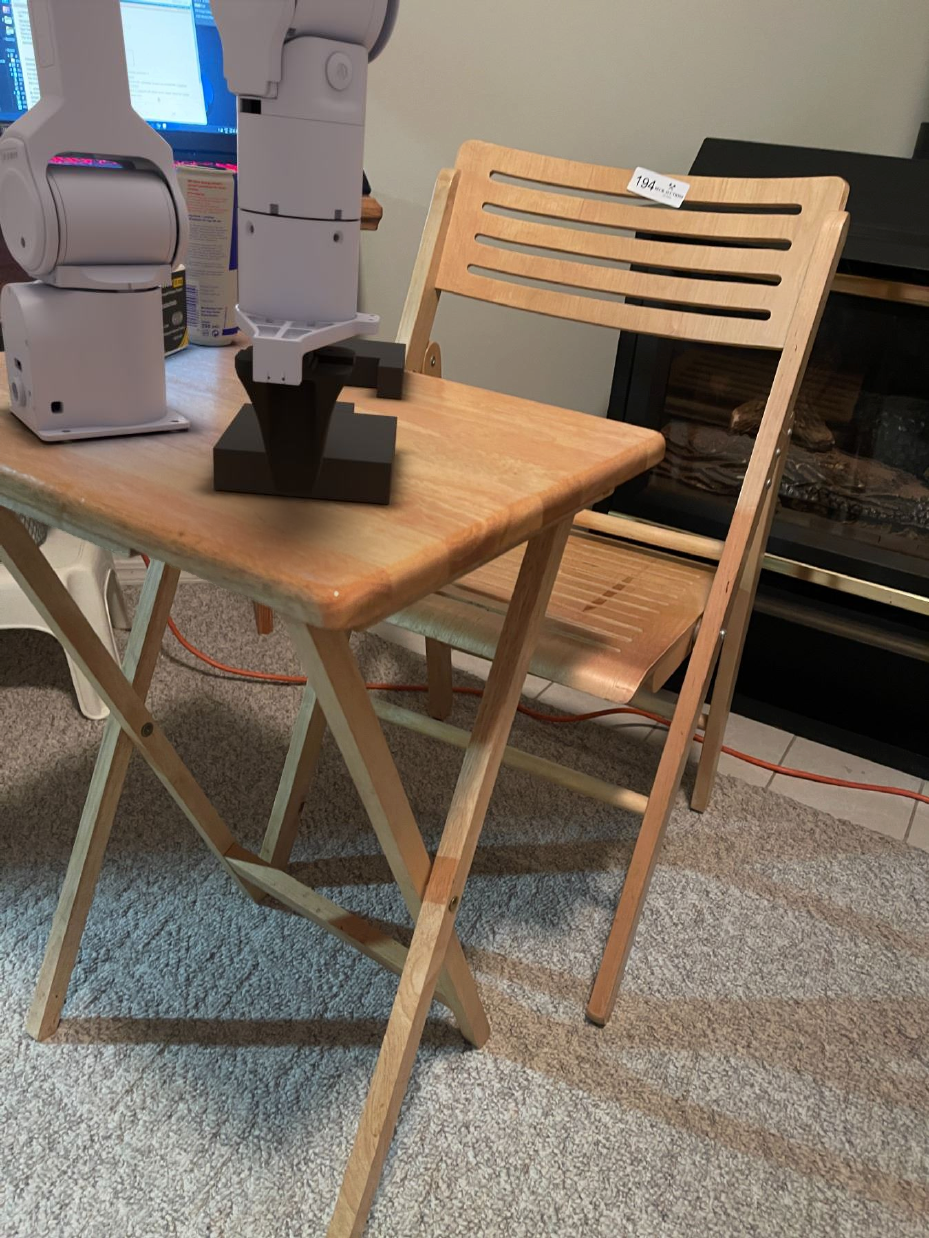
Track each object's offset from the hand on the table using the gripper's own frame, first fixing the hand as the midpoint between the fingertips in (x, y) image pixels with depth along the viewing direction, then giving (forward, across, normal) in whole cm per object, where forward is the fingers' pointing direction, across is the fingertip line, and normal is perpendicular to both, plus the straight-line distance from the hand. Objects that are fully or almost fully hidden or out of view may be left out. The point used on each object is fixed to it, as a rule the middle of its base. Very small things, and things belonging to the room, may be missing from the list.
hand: (295, 488), depth 50 cm
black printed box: (+2, +36, +19) cm, 41 cm away
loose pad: (+2, +9, 0) cm, 9 cm away
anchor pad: (+2, +33, 0) cm, 33 cm away
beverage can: (+2, +43, +13) cm, 45 cm away
